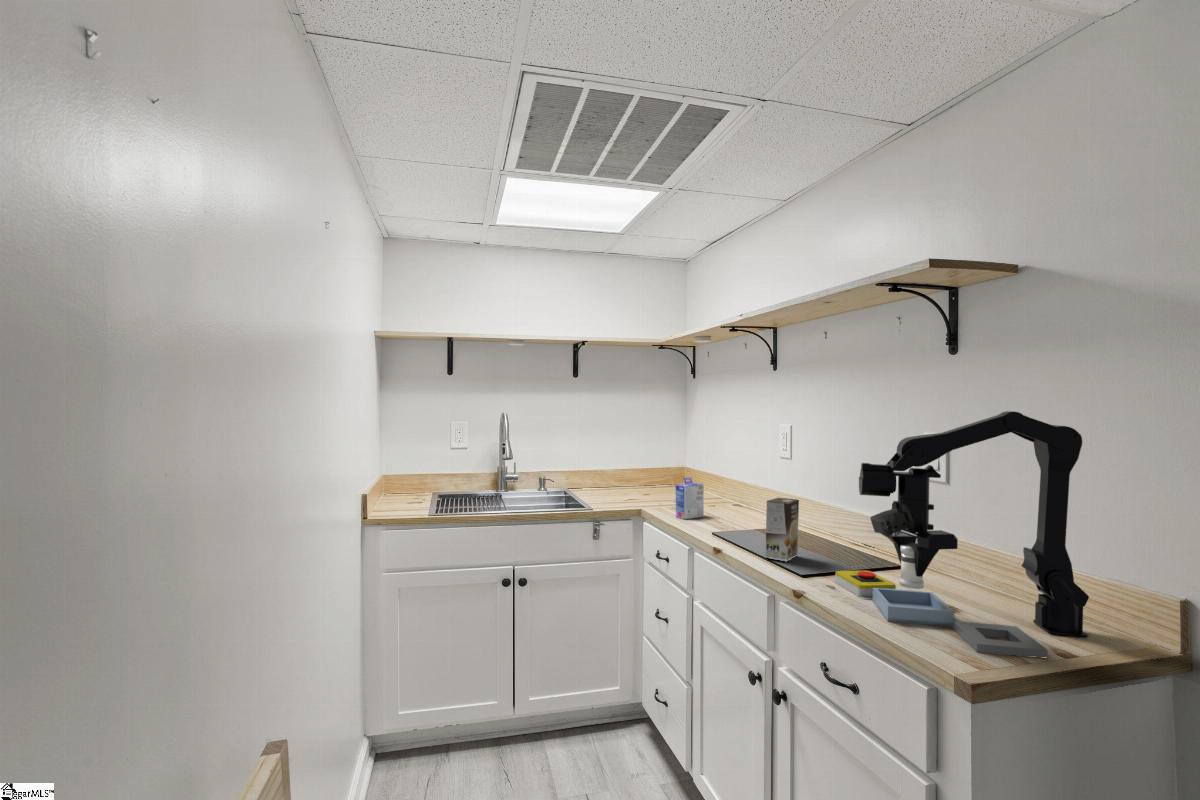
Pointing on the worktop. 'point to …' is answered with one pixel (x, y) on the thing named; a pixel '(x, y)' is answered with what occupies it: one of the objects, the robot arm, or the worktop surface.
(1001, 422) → the robot arm
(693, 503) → the ink cartridge box
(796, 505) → the coffee box
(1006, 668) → the worktop surface
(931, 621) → the parts tray
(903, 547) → the frosted globe bulb
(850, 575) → the emergency button
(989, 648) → the grey square frame
